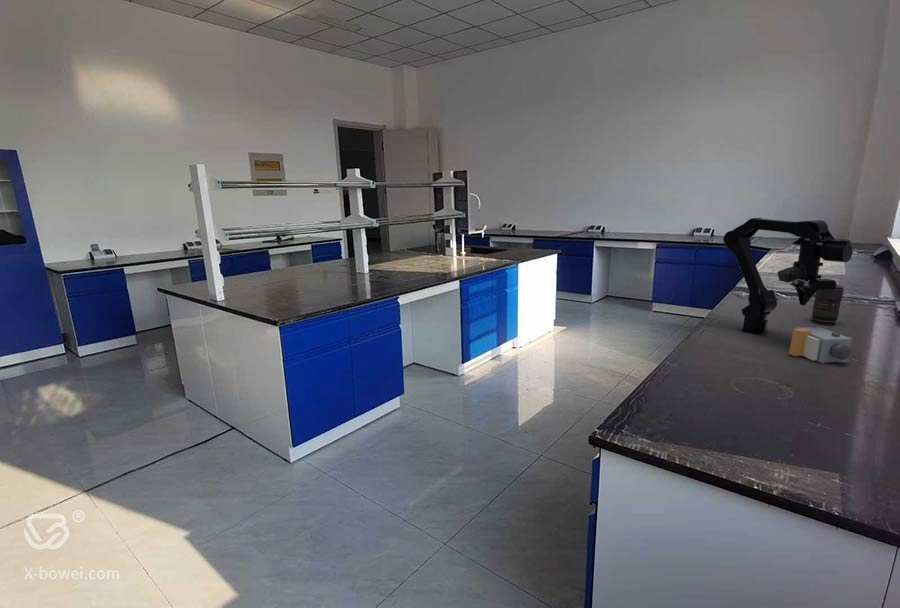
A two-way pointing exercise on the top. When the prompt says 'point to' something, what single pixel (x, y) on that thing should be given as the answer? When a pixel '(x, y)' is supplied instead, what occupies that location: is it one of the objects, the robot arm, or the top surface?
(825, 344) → the grey knobbed box
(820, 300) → the camera lens
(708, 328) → the top surface
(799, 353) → the side door
